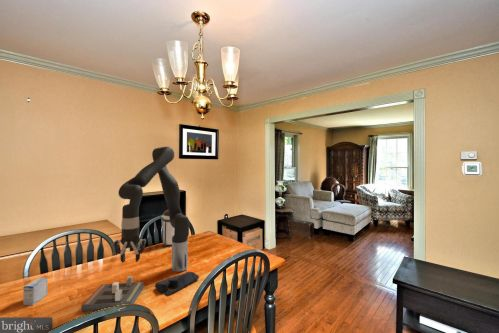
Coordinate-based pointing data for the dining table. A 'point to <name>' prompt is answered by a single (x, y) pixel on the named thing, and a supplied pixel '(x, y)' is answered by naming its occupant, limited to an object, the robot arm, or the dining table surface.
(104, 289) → the breaker panel
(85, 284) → the dining table surface
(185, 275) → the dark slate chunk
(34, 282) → the medicine box
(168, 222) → the coffee press
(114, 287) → the handle
